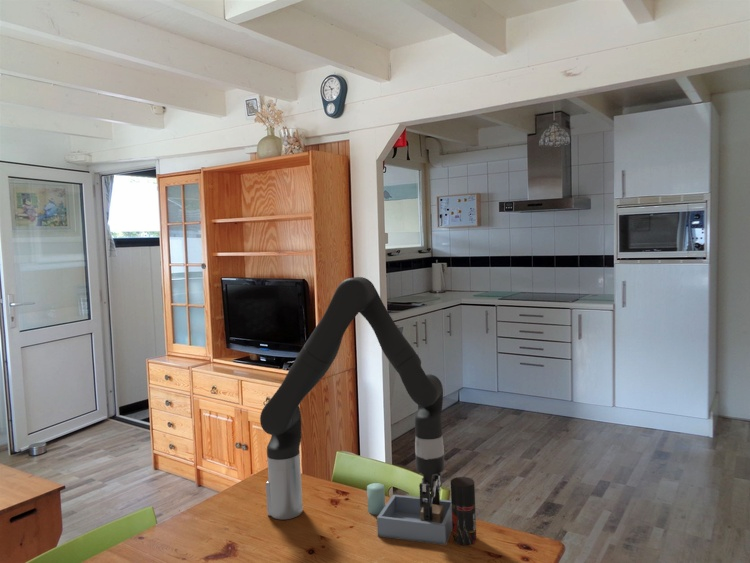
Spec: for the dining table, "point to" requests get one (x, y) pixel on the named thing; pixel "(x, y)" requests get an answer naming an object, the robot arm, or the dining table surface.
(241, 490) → the dining table surface
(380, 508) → the teal cylinder
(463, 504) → the deodorant
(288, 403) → the robot arm
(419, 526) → the box
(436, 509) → the walnut cube
